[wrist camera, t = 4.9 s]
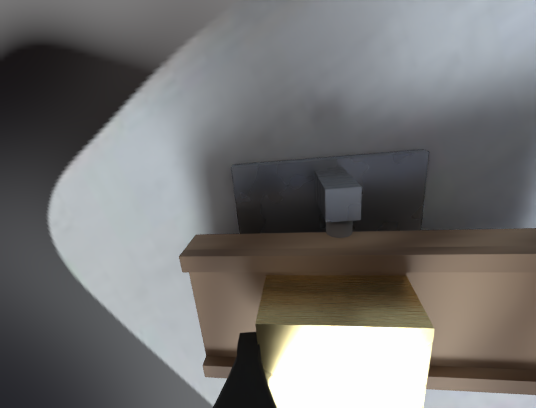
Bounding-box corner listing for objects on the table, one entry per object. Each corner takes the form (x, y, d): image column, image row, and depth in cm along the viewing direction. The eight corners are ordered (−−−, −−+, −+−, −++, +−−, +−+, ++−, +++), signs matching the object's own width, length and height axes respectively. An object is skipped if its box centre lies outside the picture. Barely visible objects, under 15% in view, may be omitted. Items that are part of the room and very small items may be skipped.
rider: (406, 275, 12) (434, 328, 10) (398, 354, 14) (421, 419, 11) (266, 275, 13) (255, 323, 11) (273, 349, 15) (265, 408, 12)
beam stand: (423, 149, 15) (469, 166, 12) (403, 341, 20) (432, 395, 16) (232, 164, 16) (221, 185, 12) (256, 350, 20) (253, 404, 17)
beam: (603, 207, 13) (677, 237, 10) (552, 356, 15) (599, 408, 13) (198, 218, 15) (176, 244, 13) (220, 344, 18) (206, 385, 16)
